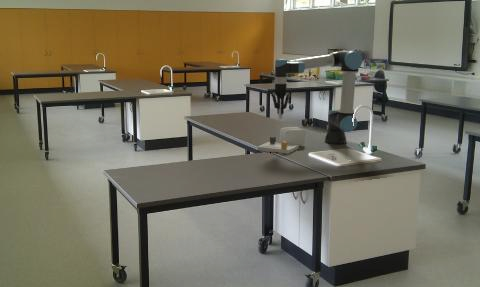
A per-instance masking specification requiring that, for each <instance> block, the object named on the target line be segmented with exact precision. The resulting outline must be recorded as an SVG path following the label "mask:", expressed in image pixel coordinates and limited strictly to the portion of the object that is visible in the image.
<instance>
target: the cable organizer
mask: <svg viewBox="0 0 480 287" xmlns="http://www.w3.org/2000/svg"><path fill="white" fill-rule="evenodd" d="M283 141H284V142H287V144H291V145H299V147H302V146H304V145H305V144H306V131H305V129H303V128H302V129H301V128H300V127H298V126H296V127H295V126H294V127H292V126H291V127H281V128H280V130H279V143H281V142H283Z"/></svg>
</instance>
